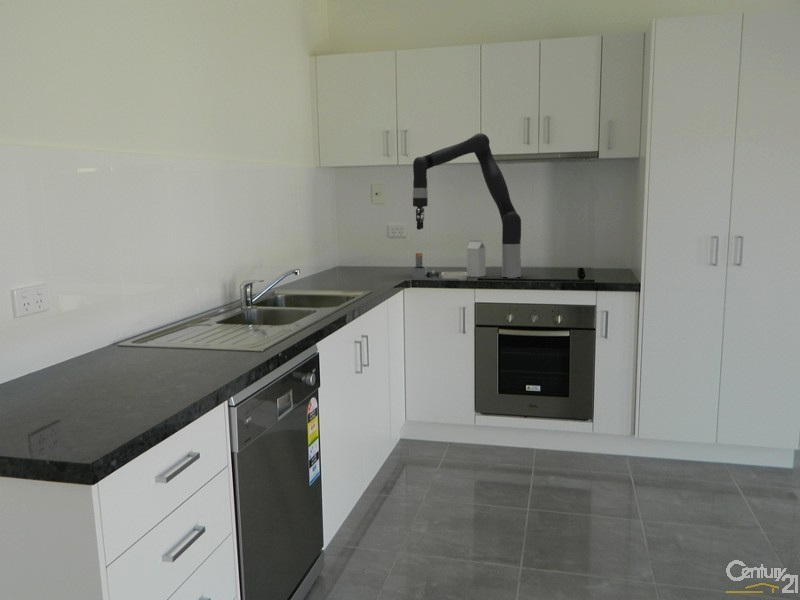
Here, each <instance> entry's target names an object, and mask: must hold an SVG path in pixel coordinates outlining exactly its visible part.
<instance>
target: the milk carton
mask: <svg viewBox="0 0 800 600" xmlns="http://www.w3.org/2000/svg"><path fill="white" fill-rule="evenodd" d="M466 272H467V278H468V277H469V278H481V277H485V276H486V246H485V244H484V243H483V240H482V239H470V240H469V243H468V244H467V246H466Z"/></svg>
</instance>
